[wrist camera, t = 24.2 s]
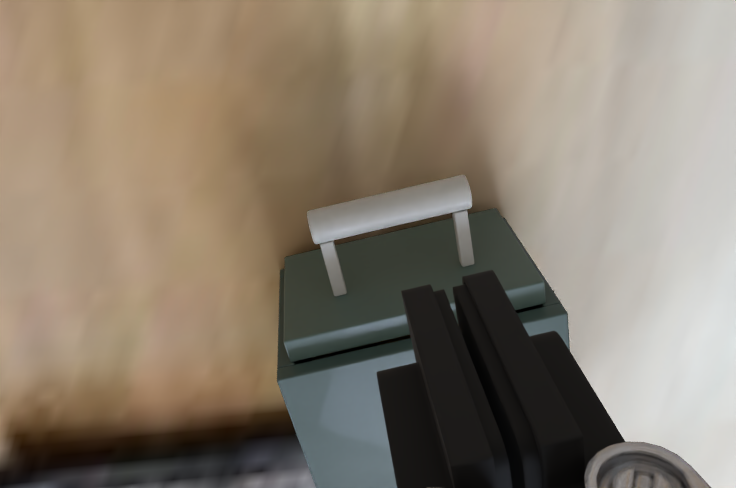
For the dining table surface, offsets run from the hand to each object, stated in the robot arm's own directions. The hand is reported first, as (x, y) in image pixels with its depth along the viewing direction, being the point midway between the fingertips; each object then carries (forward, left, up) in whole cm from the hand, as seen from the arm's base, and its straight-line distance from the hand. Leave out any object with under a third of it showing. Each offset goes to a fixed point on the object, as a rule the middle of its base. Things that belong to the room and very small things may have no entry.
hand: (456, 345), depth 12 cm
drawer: (0, -13, -20) cm, 24 cm away
